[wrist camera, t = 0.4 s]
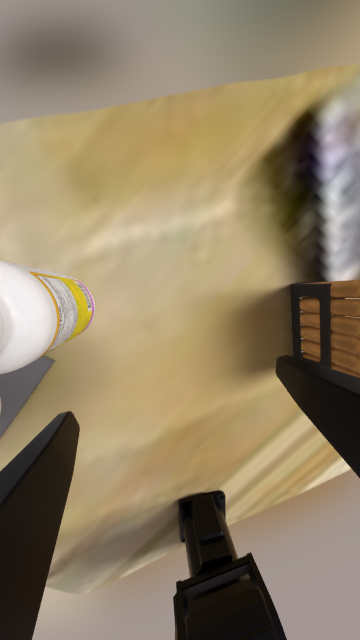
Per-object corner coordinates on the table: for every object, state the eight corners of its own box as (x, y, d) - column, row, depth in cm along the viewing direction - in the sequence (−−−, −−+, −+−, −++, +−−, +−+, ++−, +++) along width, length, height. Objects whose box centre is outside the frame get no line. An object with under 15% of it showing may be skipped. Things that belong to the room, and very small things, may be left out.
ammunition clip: (290, 284, 23) (436, 273, 11) (303, 282, 23) (459, 269, 11) (293, 363, 25) (423, 426, 13) (305, 361, 25) (443, 420, 13)
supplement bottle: (18, 322, 19) (-252, 378, 6) (43, 262, 18) (-192, 194, 6) (82, 346, 20) (-31, 435, 8) (107, 292, 20) (30, 288, 7)
